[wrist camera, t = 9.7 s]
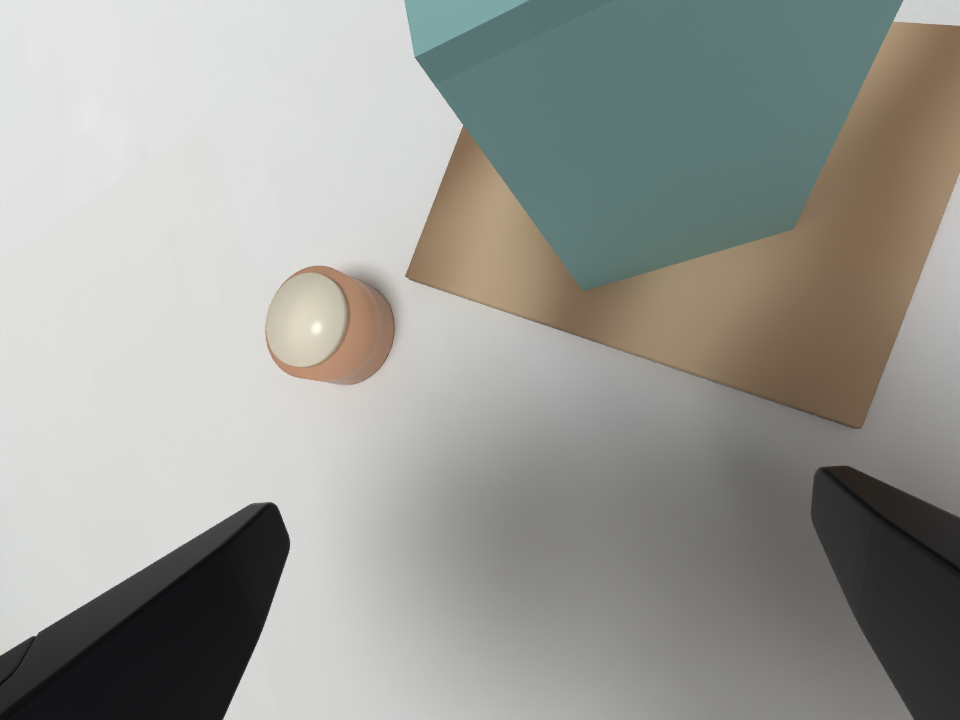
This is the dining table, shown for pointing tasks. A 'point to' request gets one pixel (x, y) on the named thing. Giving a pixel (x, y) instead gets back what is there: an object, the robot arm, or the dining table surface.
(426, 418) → the dining table surface
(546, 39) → the cover
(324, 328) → the jar
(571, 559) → the dining table surface
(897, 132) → the mat
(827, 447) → the dining table surface
